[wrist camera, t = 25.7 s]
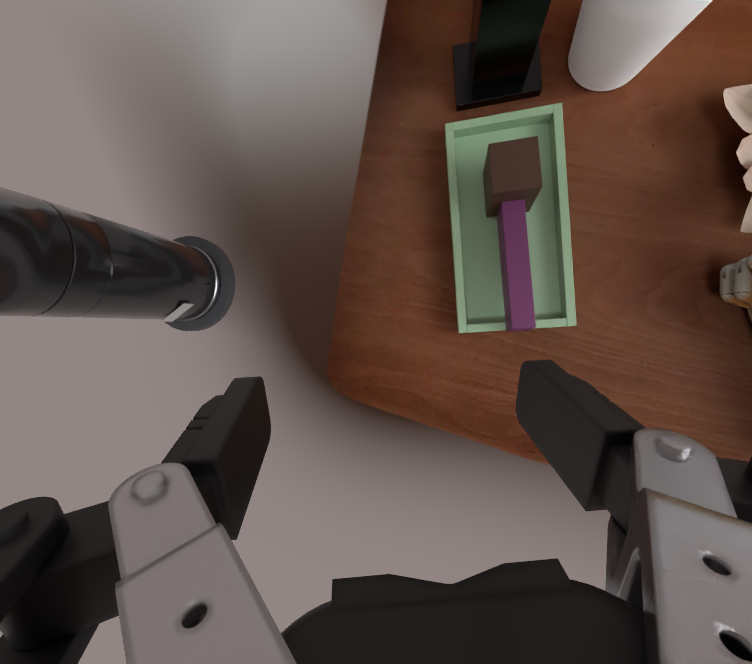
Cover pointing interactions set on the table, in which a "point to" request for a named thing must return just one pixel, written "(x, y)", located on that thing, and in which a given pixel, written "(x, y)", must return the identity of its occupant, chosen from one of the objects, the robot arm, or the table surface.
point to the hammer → (514, 221)
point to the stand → (500, 53)
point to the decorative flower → (748, 110)
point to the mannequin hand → (737, 284)
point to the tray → (480, 233)
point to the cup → (624, 37)
